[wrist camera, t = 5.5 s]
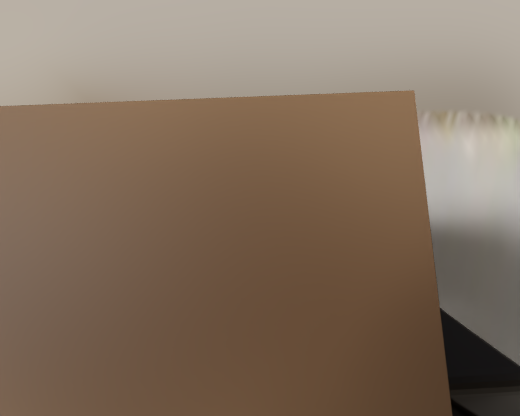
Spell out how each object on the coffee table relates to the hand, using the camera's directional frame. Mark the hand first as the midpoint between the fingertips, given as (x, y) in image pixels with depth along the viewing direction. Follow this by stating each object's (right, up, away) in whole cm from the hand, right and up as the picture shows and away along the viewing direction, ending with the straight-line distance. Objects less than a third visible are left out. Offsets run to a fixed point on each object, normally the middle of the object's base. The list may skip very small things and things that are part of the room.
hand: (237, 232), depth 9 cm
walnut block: (0, -2, +7) cm, 7 cm away
